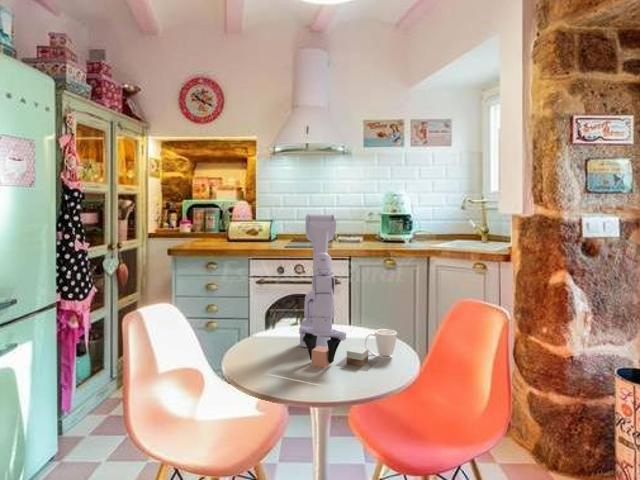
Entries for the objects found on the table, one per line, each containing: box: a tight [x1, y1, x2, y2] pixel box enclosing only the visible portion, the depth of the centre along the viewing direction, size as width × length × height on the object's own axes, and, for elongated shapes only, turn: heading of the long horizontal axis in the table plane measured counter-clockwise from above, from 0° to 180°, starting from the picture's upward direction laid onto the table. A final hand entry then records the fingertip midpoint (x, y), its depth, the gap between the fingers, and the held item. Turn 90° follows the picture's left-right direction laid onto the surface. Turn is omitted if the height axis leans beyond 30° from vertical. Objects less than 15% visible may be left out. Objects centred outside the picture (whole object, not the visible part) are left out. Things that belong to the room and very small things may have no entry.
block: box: [311, 346, 332, 368], centre depth 141 cm, size 4×4×5 cm
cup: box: [364, 328, 398, 359], centre depth 150 cm, size 7×10×8 cm
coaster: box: [335, 356, 379, 372], centre depth 143 cm, size 10×10×1 cm
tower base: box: [346, 355, 369, 367], centre depth 143 cm, size 5×5×2 cm
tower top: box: [346, 346, 369, 360], centre depth 143 cm, size 5×5×2 cm
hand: (321, 360), depth 141 cm, fingers open, 5 cm apart
